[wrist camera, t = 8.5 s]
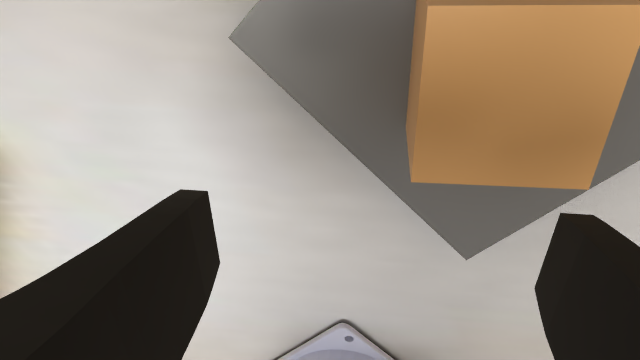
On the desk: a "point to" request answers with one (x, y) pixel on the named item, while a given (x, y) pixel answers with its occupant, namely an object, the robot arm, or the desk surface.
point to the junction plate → (401, 109)
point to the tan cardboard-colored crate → (516, 89)
